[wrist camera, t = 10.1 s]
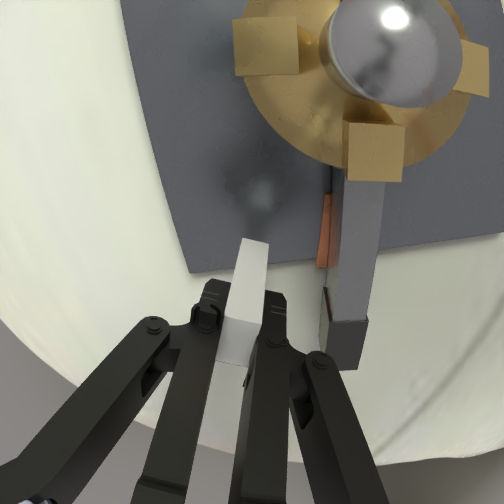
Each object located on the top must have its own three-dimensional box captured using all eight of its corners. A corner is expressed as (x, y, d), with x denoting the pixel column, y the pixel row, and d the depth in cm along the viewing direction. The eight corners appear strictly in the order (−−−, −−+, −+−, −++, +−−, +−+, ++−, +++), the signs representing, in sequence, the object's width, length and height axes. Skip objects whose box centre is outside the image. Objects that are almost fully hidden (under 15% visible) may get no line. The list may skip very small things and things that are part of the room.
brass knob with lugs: (242, -28, 13) (227, -67, 8) (432, -12, 12) (477, -33, 7) (261, 332, 24) (256, 388, 19) (401, 328, 23) (420, 380, 18)
